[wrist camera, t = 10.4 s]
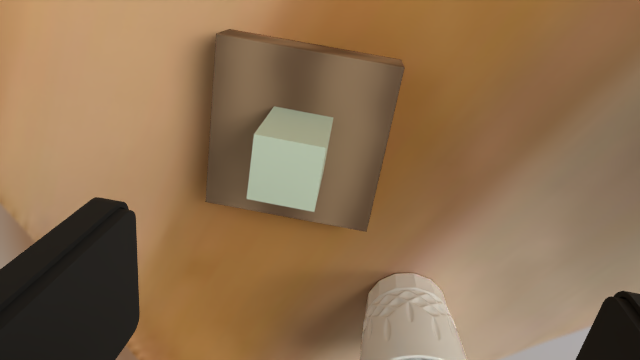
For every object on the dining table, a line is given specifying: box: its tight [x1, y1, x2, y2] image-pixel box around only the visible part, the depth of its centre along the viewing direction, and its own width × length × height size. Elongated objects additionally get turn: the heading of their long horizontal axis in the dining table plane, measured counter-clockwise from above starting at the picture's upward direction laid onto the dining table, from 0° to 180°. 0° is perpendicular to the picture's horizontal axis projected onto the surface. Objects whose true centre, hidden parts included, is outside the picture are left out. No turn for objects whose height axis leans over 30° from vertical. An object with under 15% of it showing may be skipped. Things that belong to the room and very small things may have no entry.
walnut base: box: [206, 29, 405, 232], centre depth 33 cm, size 12×12×3 cm
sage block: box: [247, 106, 333, 212], centre depth 29 cm, size 4×4×6 cm
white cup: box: [360, 273, 467, 360], centre depth 35 cm, size 8×8×10 cm
